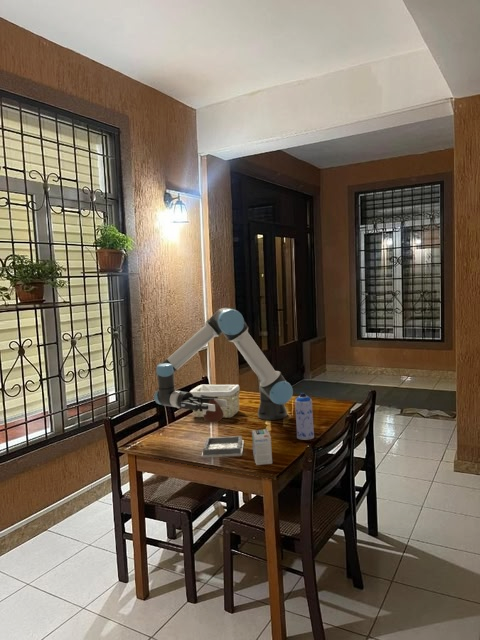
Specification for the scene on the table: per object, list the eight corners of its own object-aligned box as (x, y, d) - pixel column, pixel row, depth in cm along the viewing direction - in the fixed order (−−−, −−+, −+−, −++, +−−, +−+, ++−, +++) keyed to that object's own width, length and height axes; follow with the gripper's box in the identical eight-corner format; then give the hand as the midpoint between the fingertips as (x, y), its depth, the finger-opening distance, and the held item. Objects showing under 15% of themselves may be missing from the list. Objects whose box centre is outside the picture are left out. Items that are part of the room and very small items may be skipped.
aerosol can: (316, 434, 219) (314, 391, 217) (310, 440, 212) (307, 396, 210) (300, 433, 223) (298, 390, 221) (293, 438, 216) (291, 394, 214)
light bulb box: (253, 455, 200) (251, 430, 199) (269, 453, 201) (267, 428, 199) (256, 465, 189) (254, 438, 188) (273, 463, 190) (271, 437, 189)
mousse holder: (243, 442, 216) (243, 435, 216) (242, 455, 200) (241, 448, 200) (205, 444, 217) (205, 437, 217) (201, 457, 201) (200, 450, 201)
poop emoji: (220, 422, 203) (218, 401, 202) (201, 423, 205) (199, 401, 204) (225, 415, 213) (224, 394, 212) (207, 415, 215) (205, 395, 214)
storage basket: (190, 418, 259) (188, 391, 258) (202, 409, 275) (200, 383, 273) (232, 419, 252) (230, 391, 250) (242, 410, 267) (240, 384, 265)
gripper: (198, 402, 228) (236, 408, 214) (166, 413, 212) (205, 420, 198) (196, 386, 227) (234, 391, 213) (165, 397, 212) (204, 402, 197)
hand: (220, 405), depth 206 cm, fingers closed on poop emoji, 7 cm apart
